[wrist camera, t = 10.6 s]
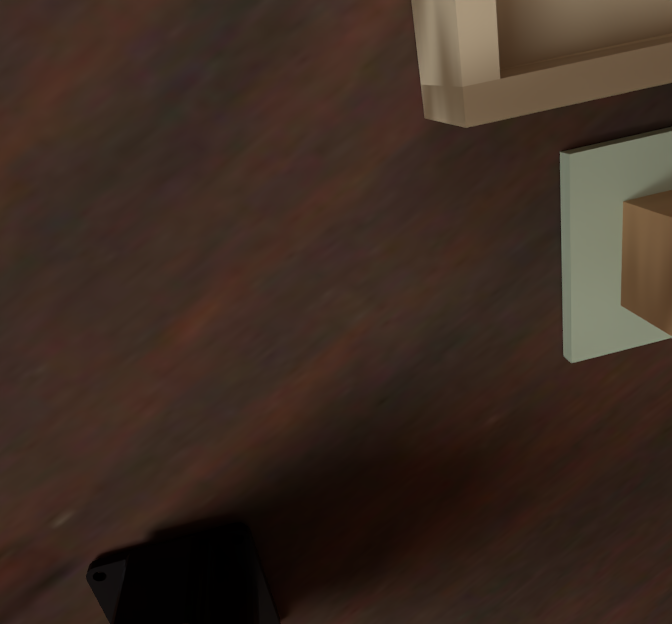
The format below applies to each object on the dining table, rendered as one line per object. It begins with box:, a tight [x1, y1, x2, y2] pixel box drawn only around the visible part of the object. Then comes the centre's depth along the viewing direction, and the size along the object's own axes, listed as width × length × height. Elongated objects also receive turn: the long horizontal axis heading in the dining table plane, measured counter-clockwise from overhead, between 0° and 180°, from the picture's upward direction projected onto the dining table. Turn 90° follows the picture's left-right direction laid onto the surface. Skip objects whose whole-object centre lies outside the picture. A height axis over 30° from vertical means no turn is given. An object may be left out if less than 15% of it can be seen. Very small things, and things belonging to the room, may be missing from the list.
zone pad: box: [560, 127, 672, 363], centre depth 20 cm, size 8×8×1 cm
